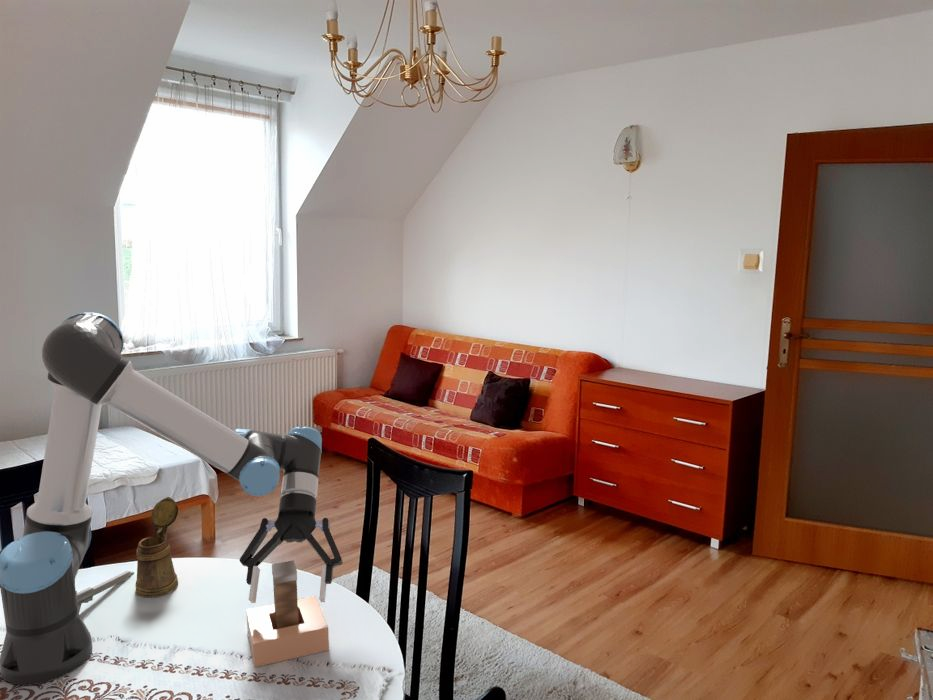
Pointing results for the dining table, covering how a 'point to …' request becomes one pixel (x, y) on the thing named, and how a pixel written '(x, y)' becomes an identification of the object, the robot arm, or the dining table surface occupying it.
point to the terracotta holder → (287, 633)
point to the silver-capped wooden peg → (285, 594)
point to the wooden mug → (157, 554)
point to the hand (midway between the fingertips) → (287, 601)
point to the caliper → (99, 588)
